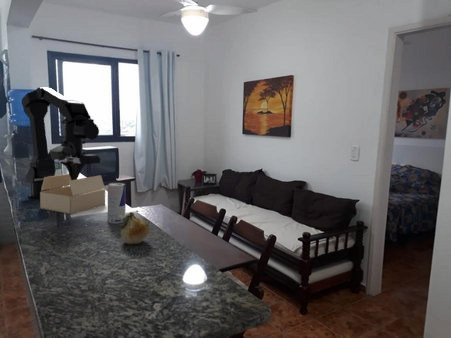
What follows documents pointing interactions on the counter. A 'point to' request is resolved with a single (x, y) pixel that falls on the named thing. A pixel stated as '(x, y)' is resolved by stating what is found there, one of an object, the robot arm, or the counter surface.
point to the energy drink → (116, 202)
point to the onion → (133, 229)
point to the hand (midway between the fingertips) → (73, 181)
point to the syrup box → (58, 167)
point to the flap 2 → (86, 184)
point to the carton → (71, 200)
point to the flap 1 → (56, 181)
